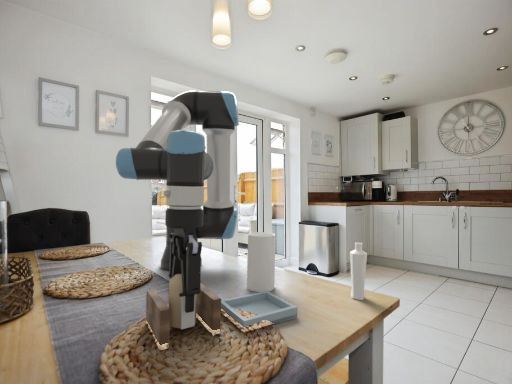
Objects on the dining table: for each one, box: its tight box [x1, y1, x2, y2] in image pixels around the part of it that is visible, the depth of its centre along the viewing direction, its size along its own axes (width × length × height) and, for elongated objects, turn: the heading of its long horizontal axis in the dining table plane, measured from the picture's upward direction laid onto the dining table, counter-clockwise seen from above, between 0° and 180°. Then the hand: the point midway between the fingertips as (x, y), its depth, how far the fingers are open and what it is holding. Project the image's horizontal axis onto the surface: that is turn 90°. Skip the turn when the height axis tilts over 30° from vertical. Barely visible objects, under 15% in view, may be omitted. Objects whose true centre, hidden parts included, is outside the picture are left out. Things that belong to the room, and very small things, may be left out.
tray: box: [221, 291, 298, 327], centre depth 63 cm, size 12×14×2 cm
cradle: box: [145, 283, 222, 345], centre depth 56 cm, size 12×12×7 cm
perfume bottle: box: [349, 242, 368, 301], centre depth 75 cm, size 5×4×15 cm
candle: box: [168, 274, 197, 329], centre depth 56 cm, size 6×6×10 cm
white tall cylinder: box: [246, 231, 276, 293], centre depth 82 cm, size 8×8×16 cm
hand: (182, 320), depth 56 cm, fingers closed on candle, 5 cm apart
